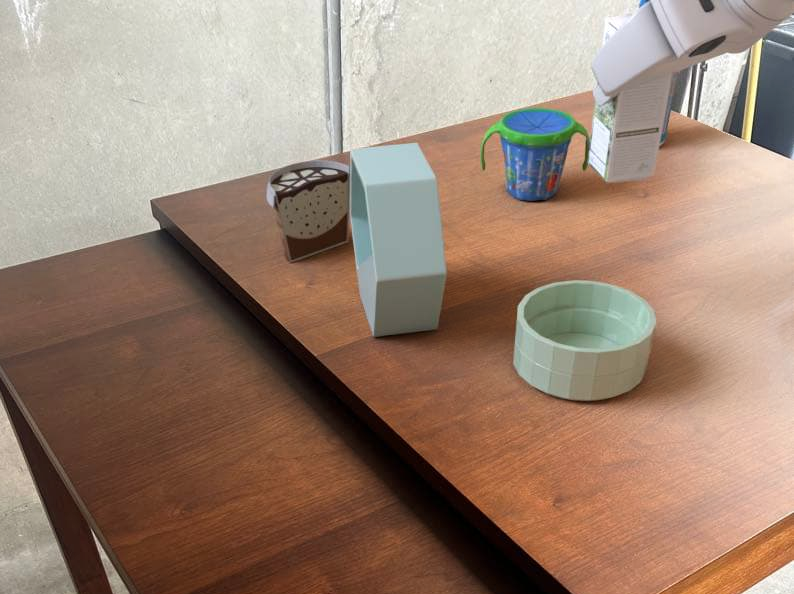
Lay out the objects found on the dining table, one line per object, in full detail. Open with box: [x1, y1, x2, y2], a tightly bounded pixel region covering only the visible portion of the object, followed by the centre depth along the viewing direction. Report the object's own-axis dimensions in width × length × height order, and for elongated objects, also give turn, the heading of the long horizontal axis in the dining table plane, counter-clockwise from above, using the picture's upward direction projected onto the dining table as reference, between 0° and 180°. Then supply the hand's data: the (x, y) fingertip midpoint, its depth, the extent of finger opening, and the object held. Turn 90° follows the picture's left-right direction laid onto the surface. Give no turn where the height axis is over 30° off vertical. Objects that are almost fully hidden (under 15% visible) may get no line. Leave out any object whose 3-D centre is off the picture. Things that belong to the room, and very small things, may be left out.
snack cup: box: [480, 107, 590, 202], centre depth 124 cm, size 16×10×10 cm
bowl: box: [512, 279, 657, 402], centre depth 94 cm, size 14×14×6 cm
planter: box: [349, 142, 448, 338], centre depth 99 cm, size 17×8×21 cm
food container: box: [266, 160, 350, 264], centre depth 115 cm, size 12×6×10 cm, turn 126°
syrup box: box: [587, 13, 672, 183], centre depth 89 cm, size 6×6×14 cm
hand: (627, 87), depth 88 cm, fingers closed on syrup box, 7 cm apart
